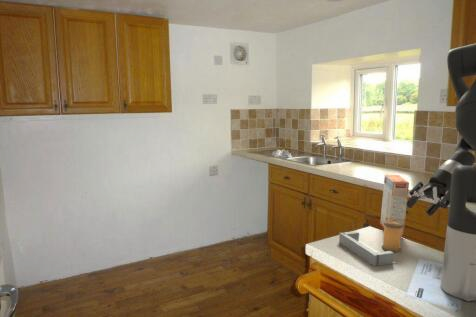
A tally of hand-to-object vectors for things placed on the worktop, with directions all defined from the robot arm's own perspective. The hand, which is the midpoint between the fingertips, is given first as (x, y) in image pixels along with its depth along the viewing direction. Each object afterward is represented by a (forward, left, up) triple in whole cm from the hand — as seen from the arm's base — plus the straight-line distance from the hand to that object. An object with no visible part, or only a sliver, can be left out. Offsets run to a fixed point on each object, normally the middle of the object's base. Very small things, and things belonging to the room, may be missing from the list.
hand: (417, 210), depth 116 cm
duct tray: (0, +19, -13) cm, 23 cm away
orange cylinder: (0, +9, -13) cm, 16 cm away
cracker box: (+15, -4, -13) cm, 20 cm away
